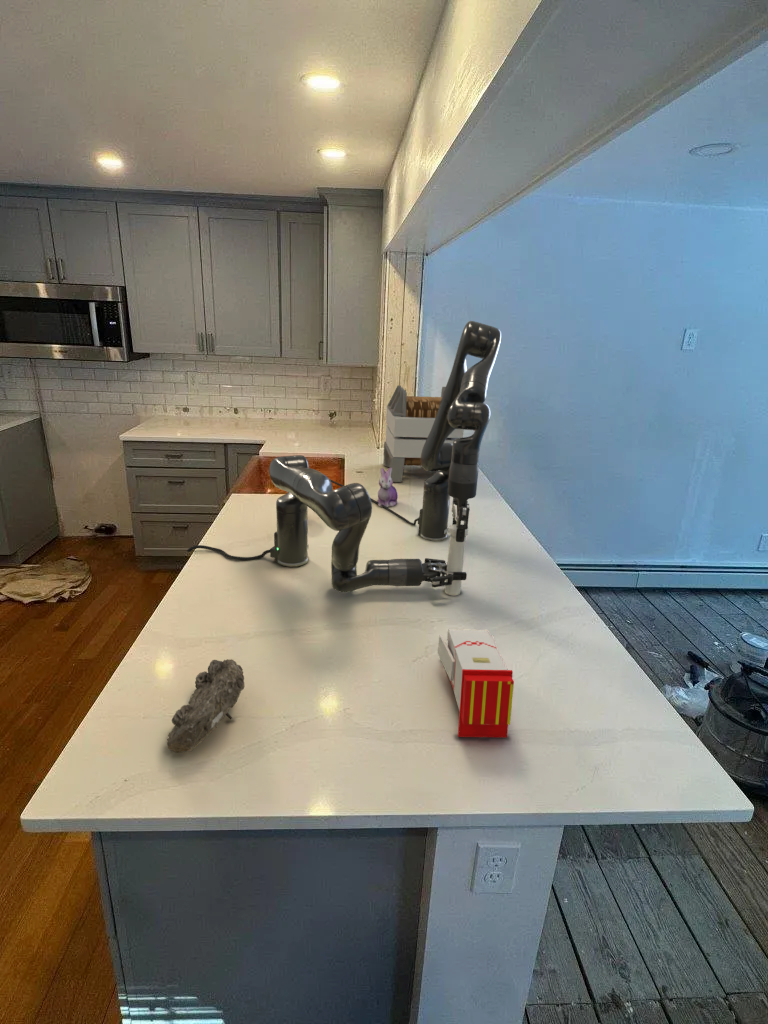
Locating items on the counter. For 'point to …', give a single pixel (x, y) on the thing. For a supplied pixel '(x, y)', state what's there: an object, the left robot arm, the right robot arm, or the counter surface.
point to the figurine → (386, 489)
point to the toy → (478, 682)
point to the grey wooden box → (409, 430)
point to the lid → (453, 530)
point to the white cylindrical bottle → (455, 564)
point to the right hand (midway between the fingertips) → (457, 535)
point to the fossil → (206, 705)
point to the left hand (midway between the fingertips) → (463, 572)
